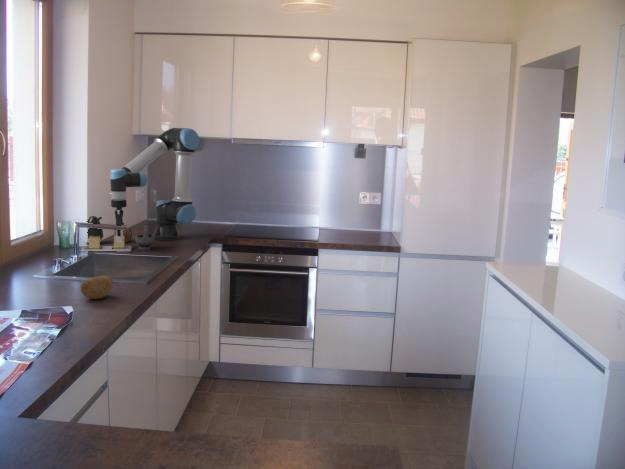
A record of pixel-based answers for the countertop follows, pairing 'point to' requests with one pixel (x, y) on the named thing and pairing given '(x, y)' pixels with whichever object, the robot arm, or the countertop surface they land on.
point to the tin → (126, 234)
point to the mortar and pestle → (144, 239)
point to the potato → (97, 287)
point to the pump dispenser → (94, 230)
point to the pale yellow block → (94, 242)
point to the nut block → (119, 243)
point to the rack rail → (105, 248)
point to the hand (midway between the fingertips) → (119, 239)
